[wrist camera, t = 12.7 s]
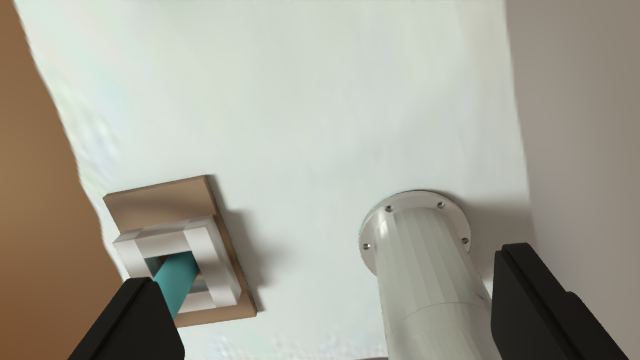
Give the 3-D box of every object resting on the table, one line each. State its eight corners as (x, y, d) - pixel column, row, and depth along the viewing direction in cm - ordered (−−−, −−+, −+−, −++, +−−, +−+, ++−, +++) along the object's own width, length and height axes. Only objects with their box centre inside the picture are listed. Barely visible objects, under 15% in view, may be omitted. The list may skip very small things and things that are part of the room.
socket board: (257, 310, 51) (252, 331, 48) (172, 323, 52) (162, 344, 49) (205, 174, 43) (195, 188, 40) (107, 194, 44) (89, 209, 41)
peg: (209, 265, 47) (185, 313, 39) (185, 279, 48) (157, 329, 41) (186, 241, 45) (157, 287, 38) (162, 257, 46) (129, 304, 39)
